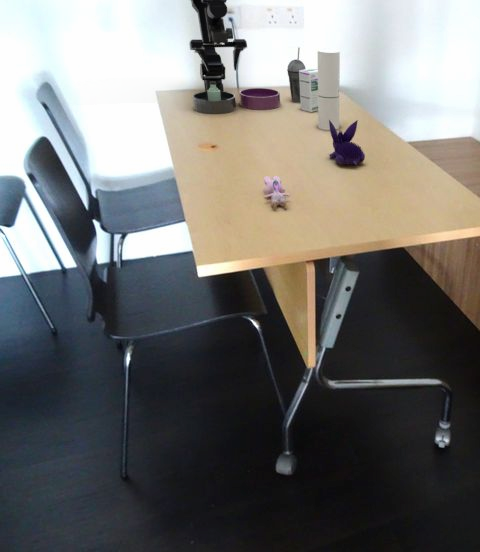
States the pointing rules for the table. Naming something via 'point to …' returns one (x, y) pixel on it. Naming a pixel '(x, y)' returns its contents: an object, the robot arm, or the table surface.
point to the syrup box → (309, 89)
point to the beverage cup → (295, 78)
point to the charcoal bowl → (214, 103)
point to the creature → (346, 146)
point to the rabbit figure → (275, 191)
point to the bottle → (213, 92)
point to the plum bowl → (259, 98)
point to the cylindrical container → (328, 88)
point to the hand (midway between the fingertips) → (222, 70)
